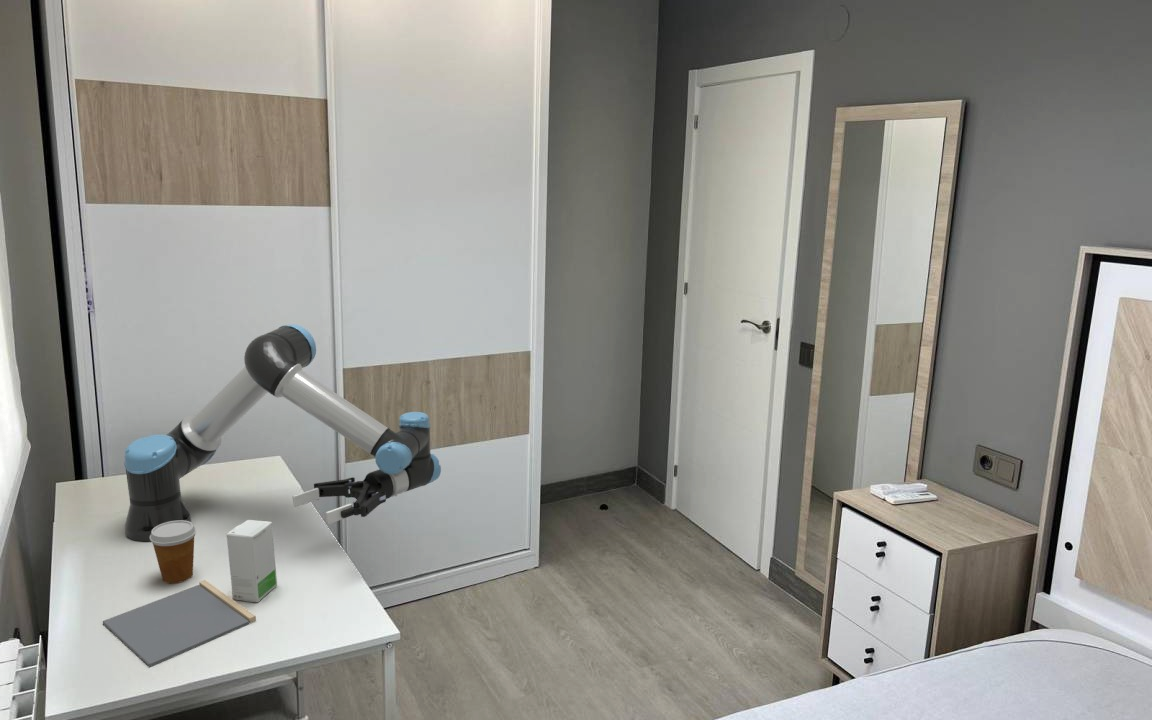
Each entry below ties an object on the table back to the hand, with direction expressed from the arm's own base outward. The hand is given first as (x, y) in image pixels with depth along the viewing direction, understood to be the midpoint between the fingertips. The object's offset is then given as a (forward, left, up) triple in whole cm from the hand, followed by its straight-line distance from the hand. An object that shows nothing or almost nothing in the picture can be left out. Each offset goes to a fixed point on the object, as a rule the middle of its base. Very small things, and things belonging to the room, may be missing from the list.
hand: (309, 509), depth 192 cm
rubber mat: (0, -32, -15) cm, 35 cm away
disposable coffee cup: (-19, -23, -15) cm, 33 cm away
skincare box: (0, -15, -15) cm, 21 cm away
